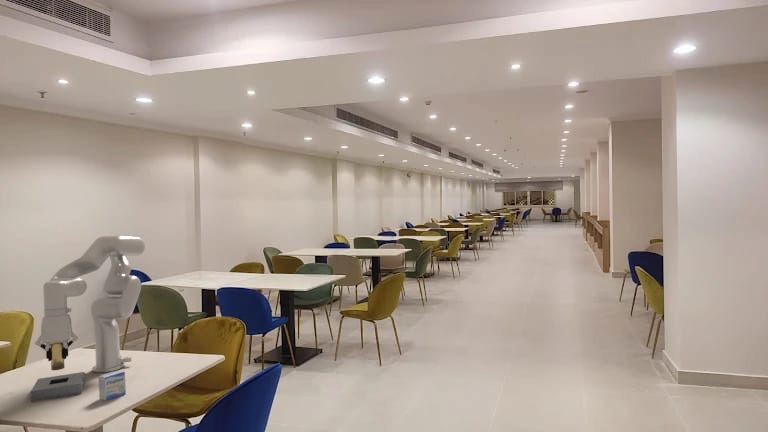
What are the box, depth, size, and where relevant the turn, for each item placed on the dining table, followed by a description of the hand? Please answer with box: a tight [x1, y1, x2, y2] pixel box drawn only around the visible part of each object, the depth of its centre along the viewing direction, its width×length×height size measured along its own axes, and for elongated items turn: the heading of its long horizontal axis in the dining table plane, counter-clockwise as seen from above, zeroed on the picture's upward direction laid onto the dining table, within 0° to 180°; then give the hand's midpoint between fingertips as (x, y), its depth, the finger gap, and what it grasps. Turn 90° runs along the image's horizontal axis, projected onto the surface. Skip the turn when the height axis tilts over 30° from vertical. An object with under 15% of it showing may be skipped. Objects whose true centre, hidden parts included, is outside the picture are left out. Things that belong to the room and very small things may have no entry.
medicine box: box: [98, 370, 127, 402], centre depth 192 cm, size 8×4×9 cm, turn 148°
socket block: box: [30, 371, 86, 403], centre depth 200 cm, size 16×16×4 cm
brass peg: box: [50, 341, 65, 371], centre depth 200 cm, size 4×4×10 cm
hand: (57, 358), depth 200 cm, fingers closed on brass peg, 4 cm apart
